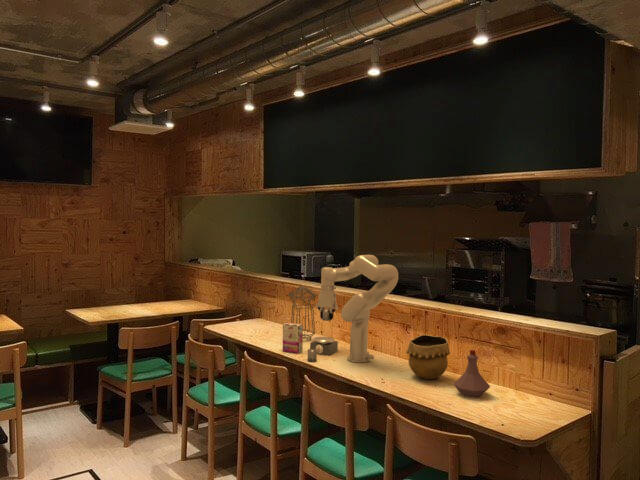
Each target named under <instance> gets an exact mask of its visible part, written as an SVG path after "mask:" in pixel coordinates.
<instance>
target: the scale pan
mask: <svg viewBox="0 0 640 480" xmlns="http://www.w3.org/2000/svg"><path fill="white" fill-rule="evenodd" d="M313 341H314V342H317V343H333V342H334V341H335V338H334V337H330V336H316V337H314V339H313Z"/></svg>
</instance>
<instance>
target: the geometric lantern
mask: <svg viewBox="0 0 640 480" xmlns="http://www.w3.org/2000/svg"><path fill="white" fill-rule="evenodd" d="M308 294H309V295H308ZM287 295H288V297H289V298H290V300H291V301H292V302H293V303H292V306H291V317H292V318H290V319H291V321H290V323H294V324H301V310H302V309H305V310H304V314H305V315H304V316H305V317H304V329H303V339H305V338H306V339H307V340H305V342H311V341H312V337H313V336H314V335H315V334H316V329H315V327H316V326H314V325H315V316H314V315H315V314H314V311H315V309H314V305H312V304H311V300H312V301H314V299H316V297H317V296H318V297H319V294H318V293H315V292H314V291H312V290H311V289H309V288H308V287H306V286H305V285H301V286H299V287H297V288H295V289H294V290H292V291H290V292H288V293H287ZM306 298H307V300H305V299H306ZM309 298H310V299H309ZM297 299H299V300H300V301H302V304H296V302H297ZM306 302H307V303H306ZM304 303H305V304H304ZM298 306H299V308H298ZM302 306H305V307H302ZM294 309H295V310H296V311H298V315H296V318H295V310H294ZM309 310H310V312H311V313H310V312H309ZM310 314H311V327H312V330H310V328H308V329H306V328H307V320H308V325H310ZM294 318H295V319H296V321H294V320H295V319H294ZM298 318H299V320H298ZM307 318H308V319H307ZM295 322H296V323H295ZM306 331H307V332H306ZM309 332H310V333H312V334H308V333H309Z"/></svg>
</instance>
